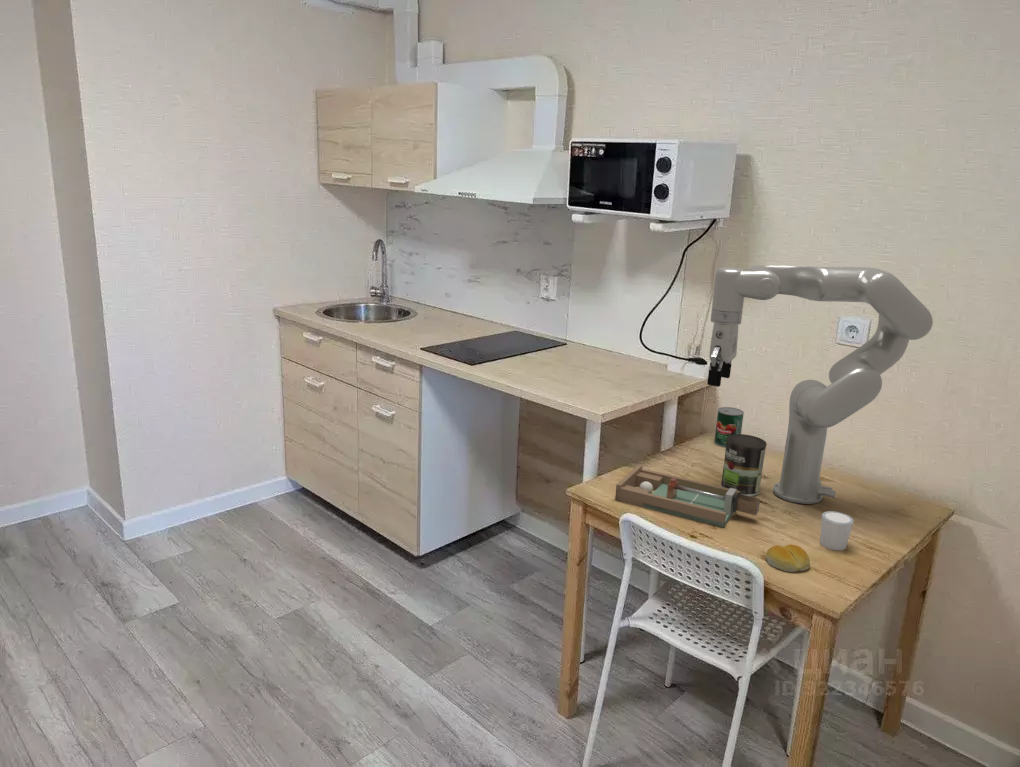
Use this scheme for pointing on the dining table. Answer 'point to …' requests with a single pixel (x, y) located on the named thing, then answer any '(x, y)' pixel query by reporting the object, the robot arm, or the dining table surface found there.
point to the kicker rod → (740, 501)
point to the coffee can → (743, 463)
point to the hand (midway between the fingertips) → (718, 381)
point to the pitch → (677, 497)
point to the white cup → (835, 530)
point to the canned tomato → (728, 424)
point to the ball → (646, 486)
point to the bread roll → (788, 558)
